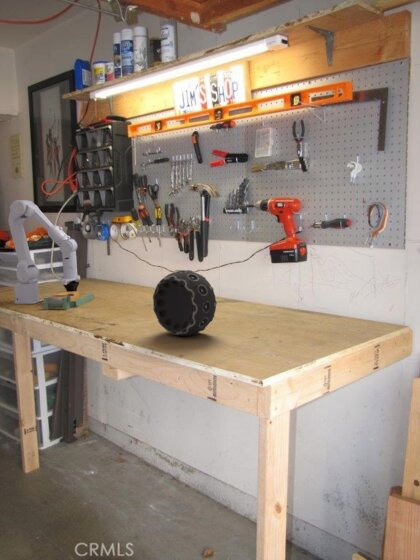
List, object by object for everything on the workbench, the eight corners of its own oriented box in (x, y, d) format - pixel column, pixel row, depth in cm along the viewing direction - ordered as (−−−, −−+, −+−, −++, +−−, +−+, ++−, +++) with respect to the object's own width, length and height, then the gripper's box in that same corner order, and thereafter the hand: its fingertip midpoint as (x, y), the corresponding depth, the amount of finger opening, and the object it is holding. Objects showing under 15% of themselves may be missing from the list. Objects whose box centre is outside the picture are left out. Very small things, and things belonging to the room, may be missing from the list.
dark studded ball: (173, 326, 169) (171, 267, 166) (221, 335, 157) (219, 270, 154) (150, 333, 161) (147, 271, 158) (198, 343, 149) (196, 275, 146)
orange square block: (53, 306, 211) (52, 294, 210) (61, 302, 219) (60, 291, 218) (71, 306, 210) (70, 294, 209) (79, 302, 217) (78, 291, 217)
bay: (39, 309, 205) (38, 294, 204) (66, 298, 229) (65, 284, 228) (72, 309, 203) (71, 294, 202) (95, 298, 226) (94, 284, 225)
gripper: (71, 269, 210) (73, 302, 212) (85, 265, 224) (87, 295, 226) (55, 269, 211) (58, 302, 213) (70, 265, 225) (72, 295, 227)
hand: (72, 298), depth 220 cm, fingers closed
